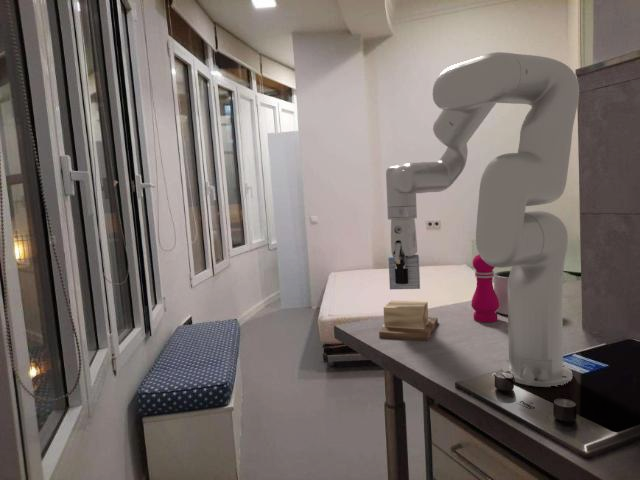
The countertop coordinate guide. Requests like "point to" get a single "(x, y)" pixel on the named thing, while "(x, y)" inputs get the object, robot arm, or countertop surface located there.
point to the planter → (502, 291)
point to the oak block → (406, 314)
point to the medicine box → (412, 273)
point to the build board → (409, 331)
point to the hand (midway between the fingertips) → (404, 280)
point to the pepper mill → (484, 292)
